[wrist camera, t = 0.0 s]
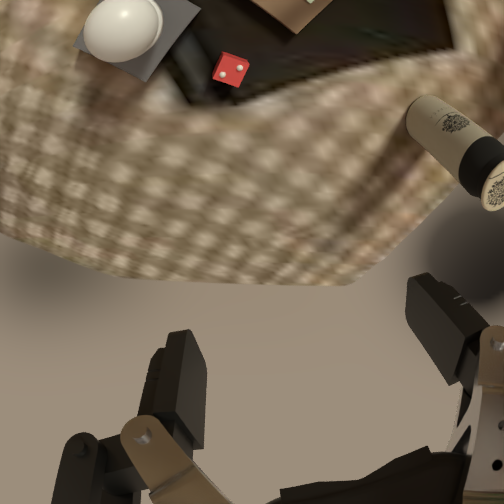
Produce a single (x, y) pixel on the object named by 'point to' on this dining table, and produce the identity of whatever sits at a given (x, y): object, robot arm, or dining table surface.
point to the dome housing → (175, 22)
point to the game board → (292, 11)
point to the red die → (230, 69)
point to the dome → (123, 29)
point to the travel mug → (460, 148)
